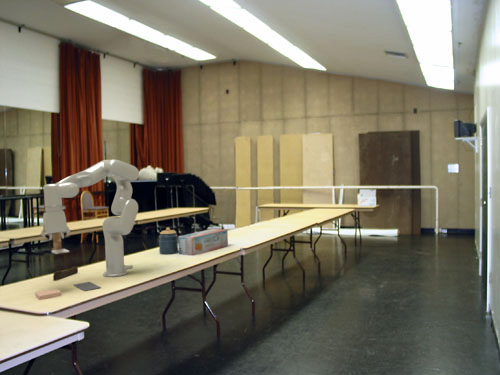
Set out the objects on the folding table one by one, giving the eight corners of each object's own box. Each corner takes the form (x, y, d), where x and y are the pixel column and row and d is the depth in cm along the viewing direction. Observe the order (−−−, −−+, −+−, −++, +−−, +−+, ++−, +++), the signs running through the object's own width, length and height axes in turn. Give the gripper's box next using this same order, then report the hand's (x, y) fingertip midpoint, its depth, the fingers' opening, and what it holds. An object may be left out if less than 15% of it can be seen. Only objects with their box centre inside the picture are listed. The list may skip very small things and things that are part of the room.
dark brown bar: (72, 273, 249) (71, 265, 249) (78, 273, 248) (78, 265, 248) (49, 281, 231) (48, 272, 231) (55, 281, 230) (55, 272, 230)
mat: (89, 282, 224) (89, 281, 224) (101, 288, 212) (101, 287, 212) (73, 285, 219) (73, 284, 219) (84, 291, 207) (84, 290, 207)
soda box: (213, 245, 333) (213, 228, 332) (228, 246, 325) (228, 229, 325) (177, 254, 298) (177, 235, 298) (193, 256, 291) (193, 236, 290)
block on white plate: (62, 248, 216) (61, 230, 216) (69, 252, 207) (68, 233, 207) (49, 250, 212) (48, 232, 212) (55, 254, 203) (54, 234, 203)
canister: (181, 251, 309) (180, 226, 309) (173, 254, 297) (172, 228, 296) (164, 251, 313) (163, 226, 312) (156, 254, 300) (155, 228, 300)
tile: (55, 288, 206) (61, 292, 200) (56, 293, 206) (61, 296, 200) (35, 292, 200) (39, 295, 194) (35, 297, 201) (39, 300, 194)
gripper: (69, 207, 220) (72, 243, 221) (33, 210, 210) (36, 249, 211) (74, 208, 214) (76, 245, 215) (37, 211, 204) (40, 251, 205)
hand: (56, 246), depth 213 cm, fingers closed on block on white plate, 3 cm apart
